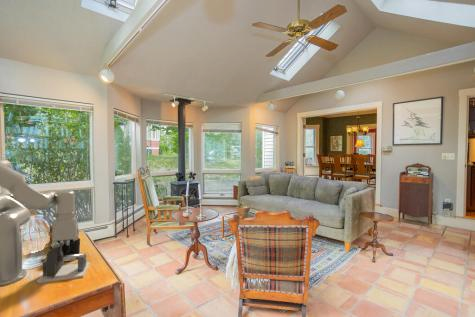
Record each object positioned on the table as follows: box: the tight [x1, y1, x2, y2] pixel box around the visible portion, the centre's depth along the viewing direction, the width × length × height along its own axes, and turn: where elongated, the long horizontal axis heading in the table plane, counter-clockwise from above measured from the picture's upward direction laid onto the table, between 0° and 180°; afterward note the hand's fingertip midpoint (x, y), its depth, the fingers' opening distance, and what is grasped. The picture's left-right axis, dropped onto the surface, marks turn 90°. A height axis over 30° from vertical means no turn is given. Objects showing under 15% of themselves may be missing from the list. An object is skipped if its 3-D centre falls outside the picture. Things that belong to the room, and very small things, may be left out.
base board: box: [36, 261, 91, 284], centre depth 115 cm, size 18×13×1 cm
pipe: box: [42, 252, 87, 276], centre depth 115 cm, size 16×5×8 cm, turn 110°
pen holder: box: [63, 238, 81, 263], centre depth 130 cm, size 9×9×10 cm
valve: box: [47, 242, 59, 253], centre depth 136 cm, size 7×7×12 cm
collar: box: [46, 244, 64, 277], centre depth 113 cm, size 3×11×11 cm, turn 20°
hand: (65, 252), depth 116 cm, fingers closed
